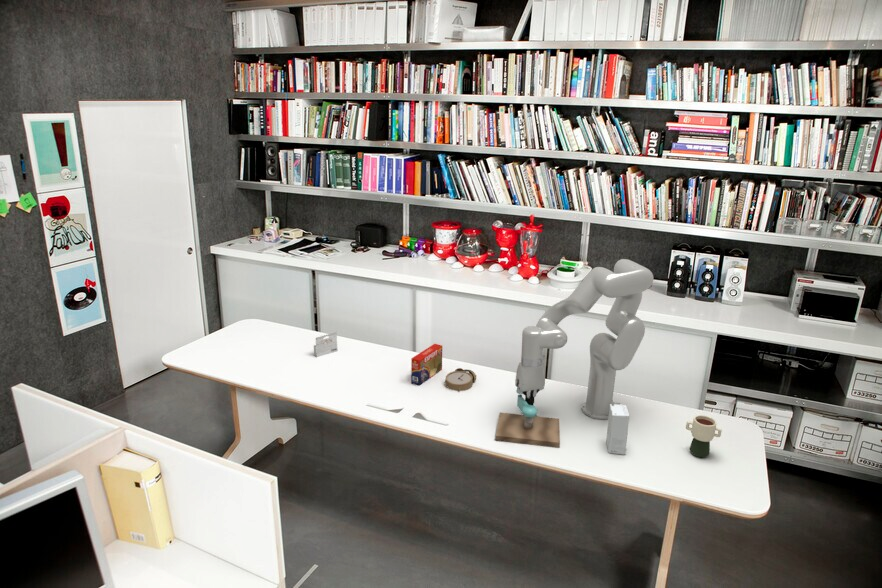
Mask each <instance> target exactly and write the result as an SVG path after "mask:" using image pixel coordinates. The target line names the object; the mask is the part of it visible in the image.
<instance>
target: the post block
mask: <svg viewBox="0 0 882 588" xmlns="http://www.w3.org/2000/svg"><path fill="white" fill-rule="evenodd" d="M497 420H498V421H497V425H496V426H497V427H496V432H495V433H496V434H495V441H496V442H498V441H499V442H506V443H513V444H521V445H522V444H523V445H531V446H532V445H533V446H540V447H541V446H543V447H549V448H551V447H552V448H560V445H561V437H560V435H561V434H560V430H561V429H560V418H557V417H556V418H555V417H549V416H548V417H547V416H537V415H536V416H535V417H532V418H529V417H525V416H524V415H523V414H517V413H509V412H499V415H498V419H497Z"/></svg>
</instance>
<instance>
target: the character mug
mask: <svg viewBox="0 0 882 588" xmlns="http://www.w3.org/2000/svg"><path fill="white" fill-rule="evenodd" d="M690 425H692V426H691V427H690ZM685 429H686V430H687V431H690V432H691V436H692V437H693V438H692V439H691V440H692V441H691V442H690V446H689V452H690V453H691V454H692V455H694V456H696V457H699V458H706V457H708V456H709V455H710V452H711V451H710V450H711V445H710V444H711V441H713V439H714V438H715V437H716V438H720V437H722V432H723V430H722V428H721V427H717V421H716V419H714V418H713V417H711V416H709V415H705V414H697V415H695V416H694V417H693V420H692V421H689V420H687V421H686V424H685ZM716 431H717V433H716Z"/></svg>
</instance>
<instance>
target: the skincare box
mask: <svg viewBox="0 0 882 588" xmlns="http://www.w3.org/2000/svg"><path fill="white" fill-rule="evenodd" d="M629 423H630V413H629V410H628V406H627V405H626V404H620V405H616V404H610V407H609V418H608V419H607V429H606V439H605V440H606V445H607V446H606V448H607V451H608V454H615V455H616V454H617V455H623V456H624V455H626V452H627V445H628V444H627V443H628V442H627V441H628V432H629Z"/></svg>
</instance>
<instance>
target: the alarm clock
mask: <svg viewBox="0 0 882 588" xmlns="http://www.w3.org/2000/svg"><path fill="white" fill-rule="evenodd" d="M476 380H477V374H476V372H474V370H472V369H463V368H461V367H458V368H456V369H455V370H454V371H451V372H448V373H447V374H446V376H445V383H444V386H446V388H448V390H449V389H450V390H452V391H455V392H457V391H458V392H461V391H462V392H463V391H468V390H470V389H471V388H472V386H473V383H474V382H476Z"/></svg>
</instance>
